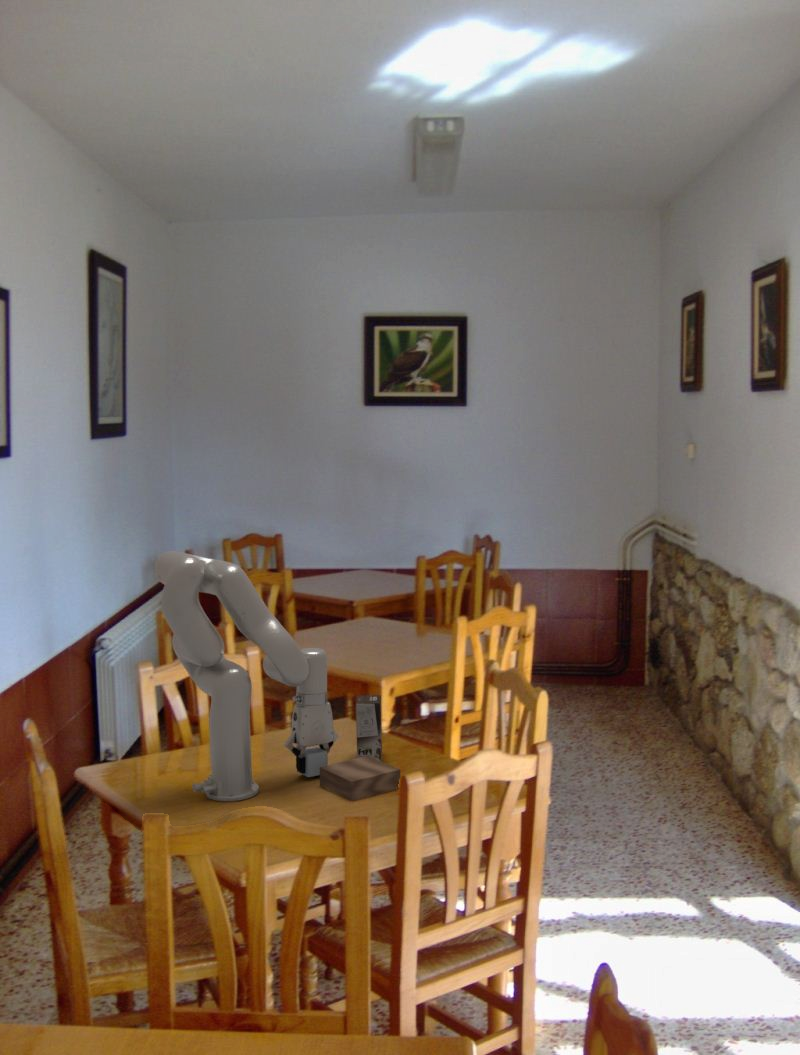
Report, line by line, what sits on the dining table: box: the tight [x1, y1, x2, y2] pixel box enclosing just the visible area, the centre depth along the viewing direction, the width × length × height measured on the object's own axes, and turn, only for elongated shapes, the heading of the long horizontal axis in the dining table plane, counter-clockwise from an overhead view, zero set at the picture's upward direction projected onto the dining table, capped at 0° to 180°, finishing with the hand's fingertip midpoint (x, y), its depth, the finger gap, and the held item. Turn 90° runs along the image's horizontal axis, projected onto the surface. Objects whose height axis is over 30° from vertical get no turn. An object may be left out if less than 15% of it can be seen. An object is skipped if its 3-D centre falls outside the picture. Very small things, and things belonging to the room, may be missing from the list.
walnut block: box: [319, 756, 401, 802], centre depth 257 cm, size 14×14×5 cm
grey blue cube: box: [296, 745, 328, 778], centre depth 265 cm, size 6×6×6 cm
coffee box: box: [355, 694, 383, 762], centre depth 277 cm, size 9×6×16 cm
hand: (311, 769), depth 265 cm, fingers closed on grey blue cube, 5 cm apart
